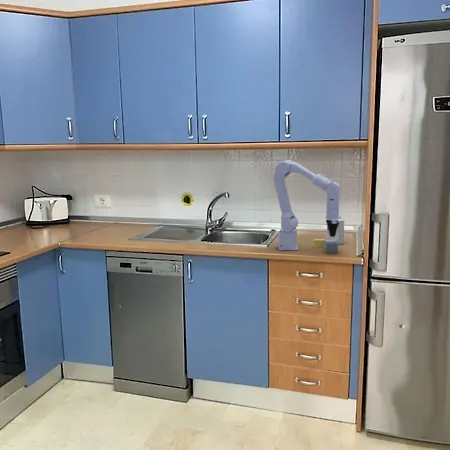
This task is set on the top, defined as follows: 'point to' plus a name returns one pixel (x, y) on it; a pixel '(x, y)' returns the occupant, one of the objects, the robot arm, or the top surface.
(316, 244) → the mustard brick
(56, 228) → the top surface
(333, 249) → the charcoal brick
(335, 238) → the light grey brick
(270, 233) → the top surface
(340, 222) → the supplement box
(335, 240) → the blue brick
